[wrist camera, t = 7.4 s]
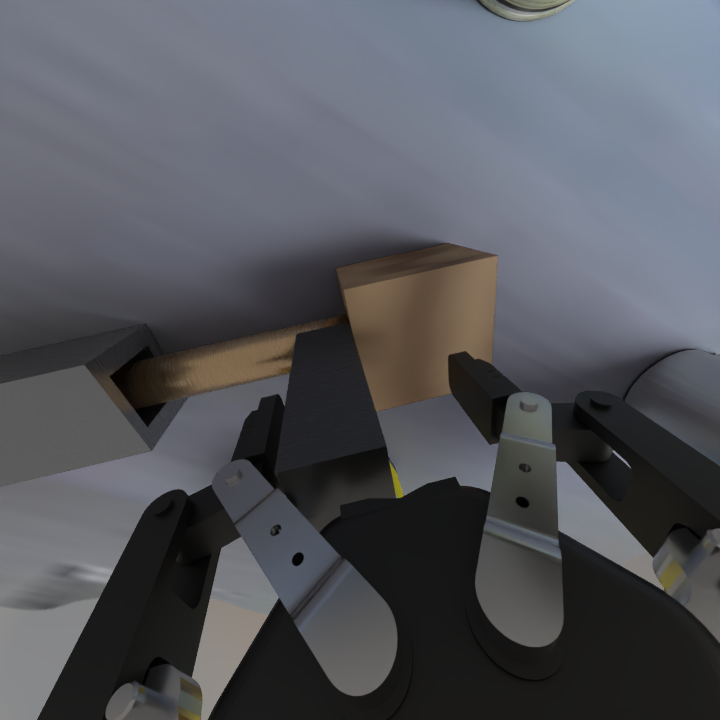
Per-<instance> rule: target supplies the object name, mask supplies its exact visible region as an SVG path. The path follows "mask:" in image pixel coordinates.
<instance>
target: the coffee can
mask: <svg viewBox="0 0 720 720" xmlns="http://www.w3.org/2000/svg"><path fill="white" fill-rule="evenodd" d="M479 1H480V2H481V3H482V4H483V5H484V6H485V7H486V8H488V9H489V10H490V11H492V12H494V13H496V14H498V15H500V16H502V17H504V18H507V19H511V20H516V21H532V20H537V19H542V18H545V17H548V16H551V15H554V14H556V13H557V12H559V11H561V10H563V9H564V8H565V7H567V6H568V5H570V4H571V3H573V2H574V1H575V0H479Z"/></svg>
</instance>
